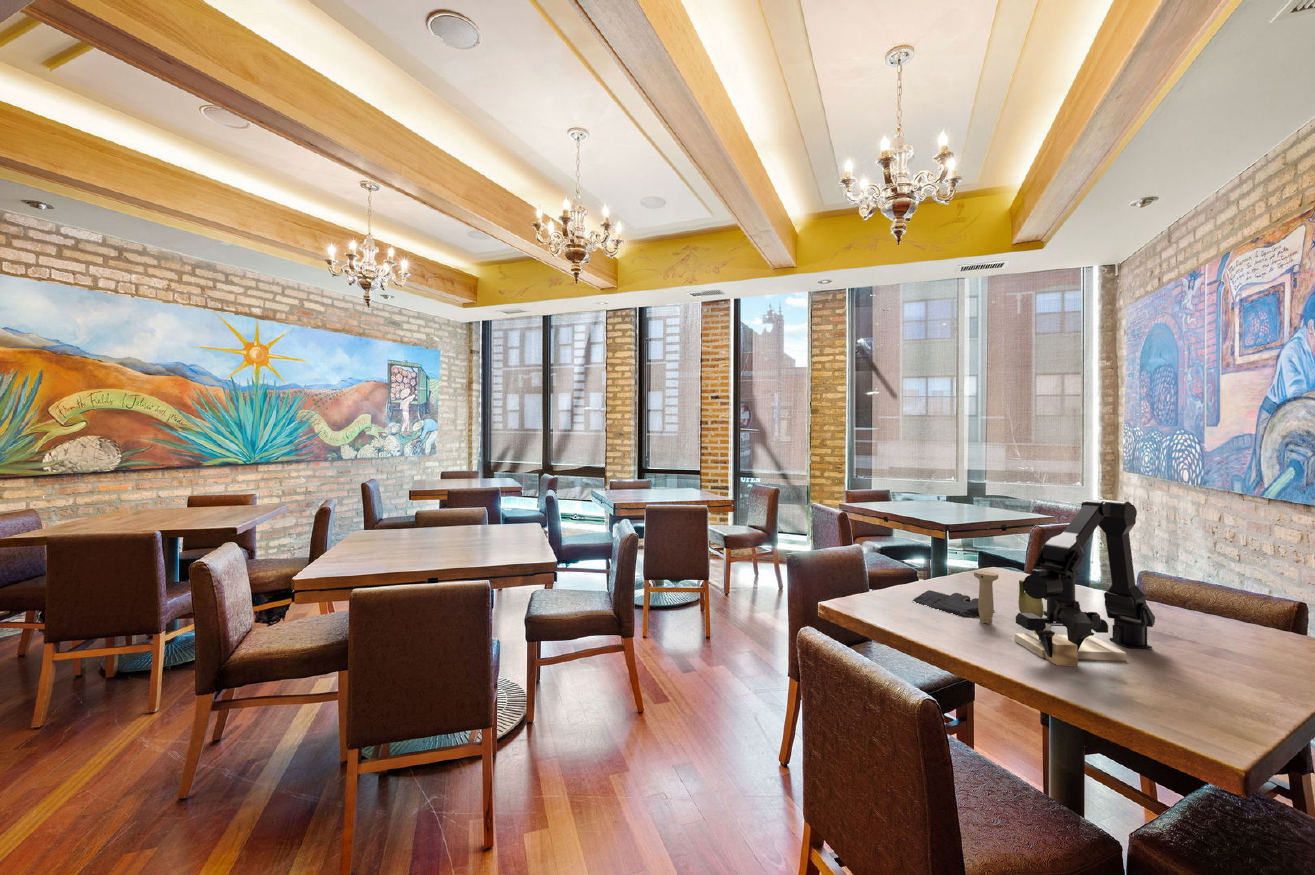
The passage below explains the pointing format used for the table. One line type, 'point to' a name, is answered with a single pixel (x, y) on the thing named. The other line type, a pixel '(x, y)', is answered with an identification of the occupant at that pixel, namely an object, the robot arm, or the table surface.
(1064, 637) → the ash plank
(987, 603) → the handle
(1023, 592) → the fennel bulb
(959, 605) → the dark slate chunk
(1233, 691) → the table surface
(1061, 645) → the marking gauge
